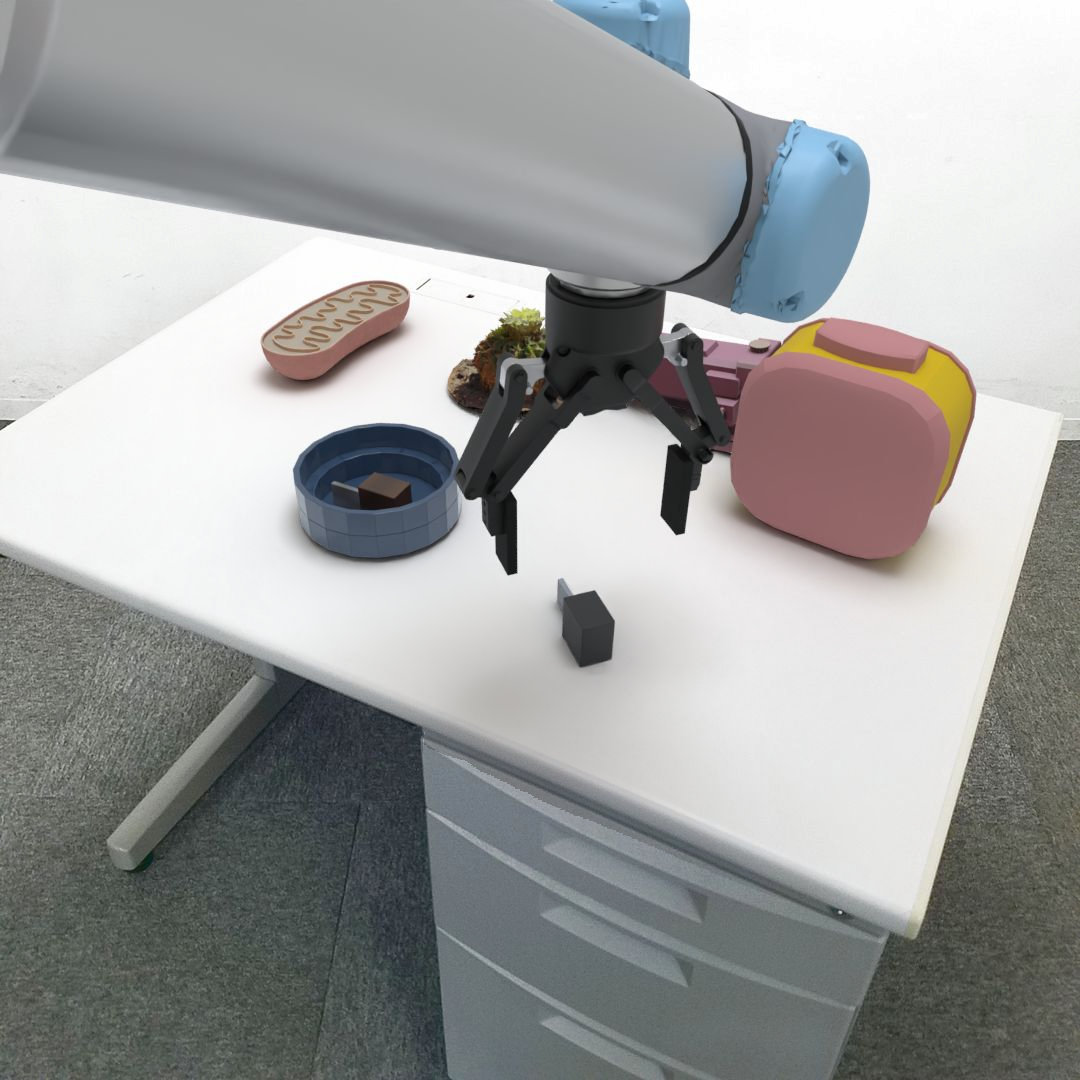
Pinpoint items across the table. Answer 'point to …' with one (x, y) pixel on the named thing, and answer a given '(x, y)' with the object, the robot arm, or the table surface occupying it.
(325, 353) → the anatomical model
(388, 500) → the blade walnut
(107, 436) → the table surface
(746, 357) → the electronic device
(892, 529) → the alarm clock
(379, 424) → the bowl
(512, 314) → the cactus
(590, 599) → the cube with grey tab
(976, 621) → the table surface
